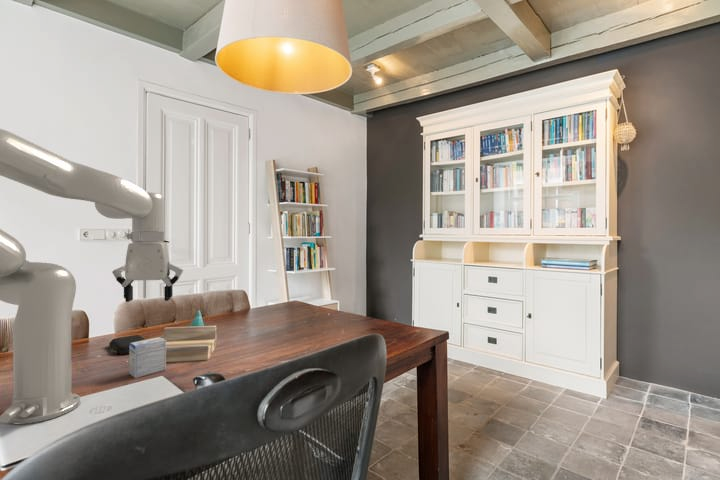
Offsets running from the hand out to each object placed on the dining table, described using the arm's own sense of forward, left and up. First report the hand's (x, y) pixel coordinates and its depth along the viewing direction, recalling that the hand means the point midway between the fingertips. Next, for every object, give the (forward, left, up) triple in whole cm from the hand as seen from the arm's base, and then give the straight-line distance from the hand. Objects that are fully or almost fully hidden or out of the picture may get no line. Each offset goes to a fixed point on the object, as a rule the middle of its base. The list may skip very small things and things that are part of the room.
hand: (148, 300), depth 103 cm
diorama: (+40, 0, -20) cm, 45 cm away
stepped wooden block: (+15, -6, -20) cm, 25 cm away
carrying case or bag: (+24, +14, -20) cm, 34 cm away
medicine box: (0, 0, -20) cm, 20 cm away
